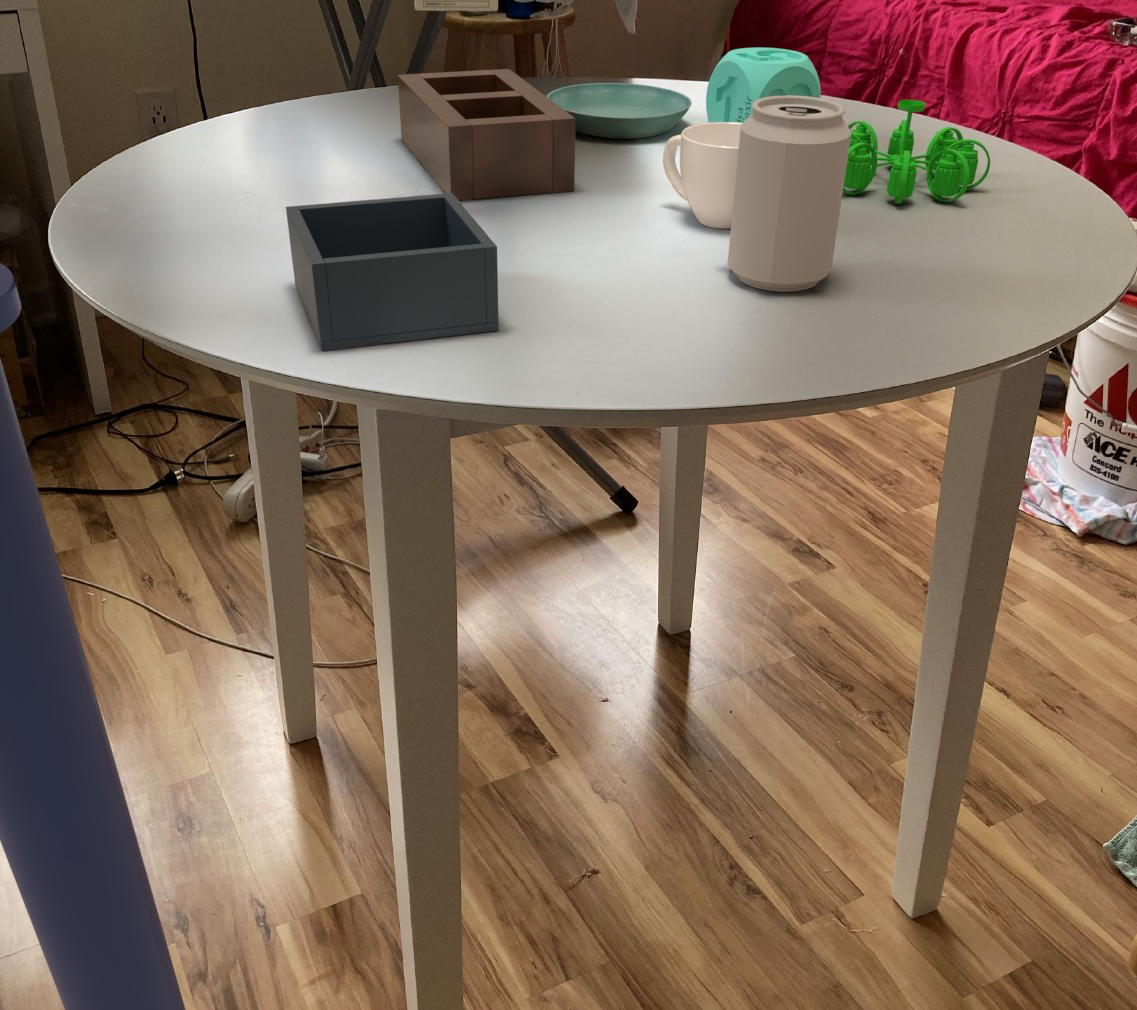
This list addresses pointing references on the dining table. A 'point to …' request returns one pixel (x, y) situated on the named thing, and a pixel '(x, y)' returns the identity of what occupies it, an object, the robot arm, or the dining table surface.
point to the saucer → (621, 109)
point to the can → (788, 192)
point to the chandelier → (913, 160)
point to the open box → (393, 270)
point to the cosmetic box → (456, 5)
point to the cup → (706, 170)
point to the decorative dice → (757, 81)
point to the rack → (487, 134)
